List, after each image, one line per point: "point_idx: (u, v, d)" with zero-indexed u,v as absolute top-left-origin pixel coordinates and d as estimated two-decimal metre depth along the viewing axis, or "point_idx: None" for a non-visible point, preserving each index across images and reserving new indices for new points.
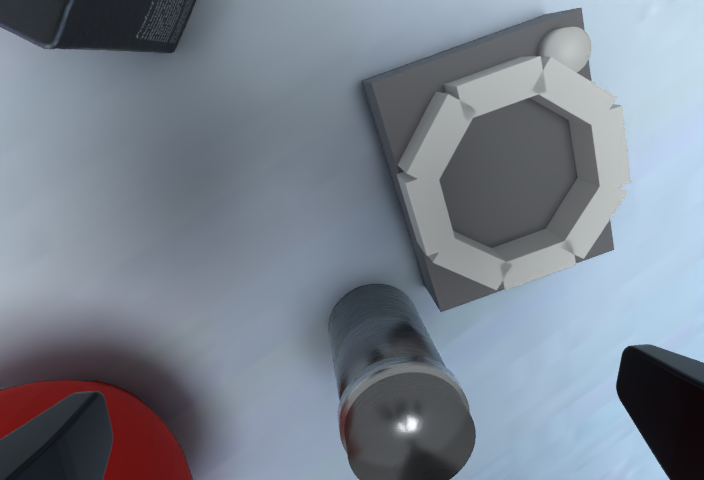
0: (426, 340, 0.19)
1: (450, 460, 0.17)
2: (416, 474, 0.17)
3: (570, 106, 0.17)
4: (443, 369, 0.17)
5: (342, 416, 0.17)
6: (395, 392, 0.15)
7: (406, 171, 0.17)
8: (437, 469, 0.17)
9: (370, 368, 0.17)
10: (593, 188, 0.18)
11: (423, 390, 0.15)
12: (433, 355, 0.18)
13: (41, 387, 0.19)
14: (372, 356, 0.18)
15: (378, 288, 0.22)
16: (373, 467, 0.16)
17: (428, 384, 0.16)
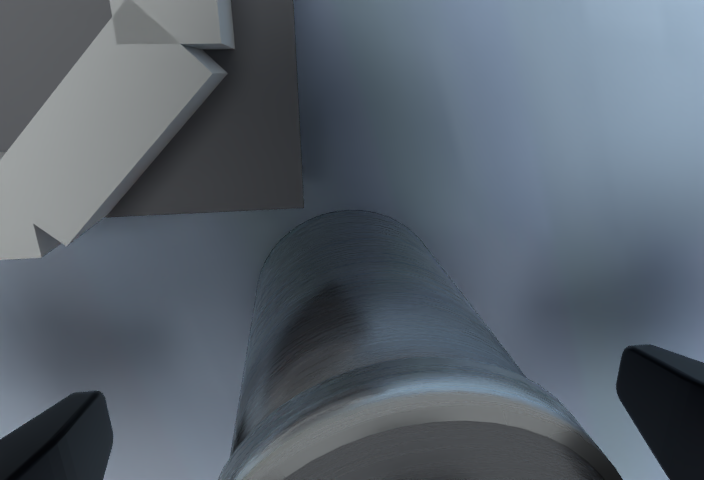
0: (299, 320, 0.07)
1: None
2: None
3: None
4: (284, 427, 0.05)
5: None
6: None
7: None
8: None
9: None
10: None
11: None
12: (298, 365, 0.06)
13: None
14: None
15: (259, 279, 0.11)
16: None
17: None
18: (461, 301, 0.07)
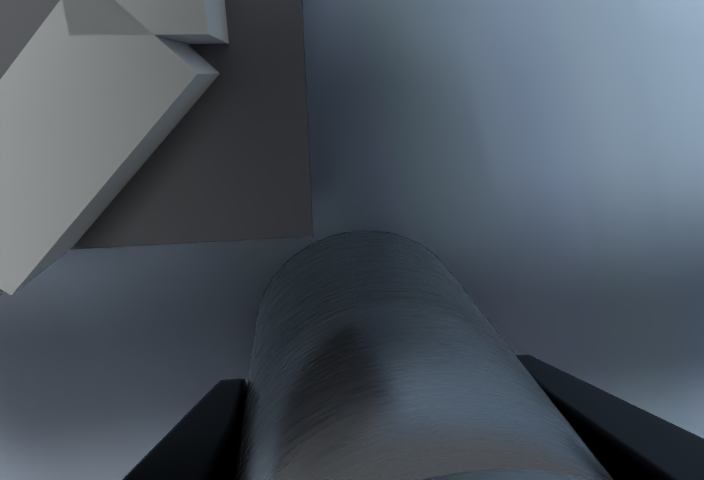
0: (309, 385, 0.05)
1: None
2: None
3: None
4: None
5: None
6: None
7: None
8: None
9: None
10: None
11: None
12: (310, 461, 0.04)
13: None
14: None
15: (259, 311, 0.09)
16: None
17: None
18: (507, 354, 0.06)
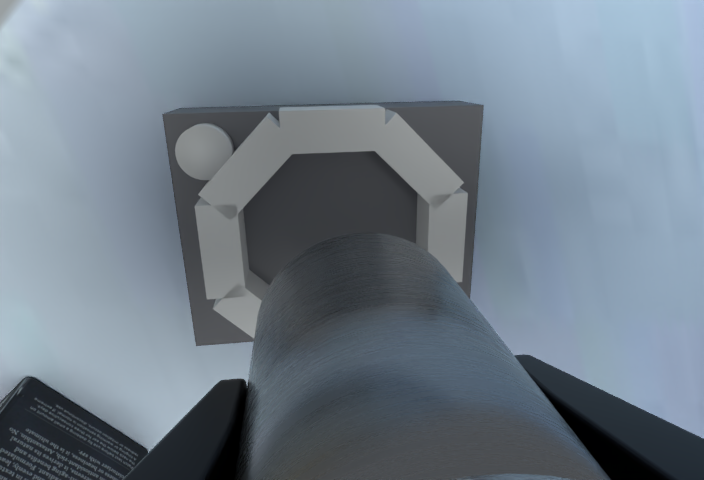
0: (310, 388, 0.05)
1: None
2: None
3: (262, 177, 0.14)
4: None
5: None
6: None
7: None
8: None
9: None
10: (377, 153, 0.14)
11: None
12: (310, 465, 0.04)
13: None
14: None
15: (259, 313, 0.09)
16: None
17: None
18: (508, 357, 0.06)
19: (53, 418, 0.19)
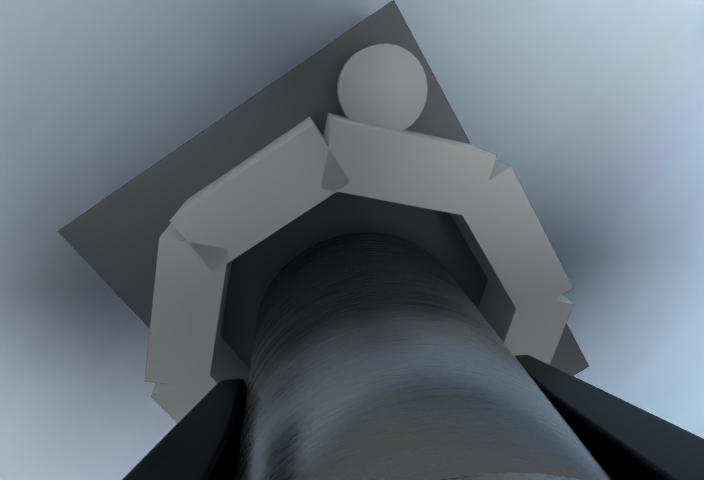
0: (310, 387, 0.05)
1: None
2: None
3: (408, 195, 0.09)
4: None
5: None
6: None
7: (146, 376, 0.09)
8: None
9: None
10: (508, 310, 0.10)
11: None
12: (310, 464, 0.04)
13: None
14: None
15: (259, 312, 0.09)
16: None
17: None
18: (507, 356, 0.06)
19: None
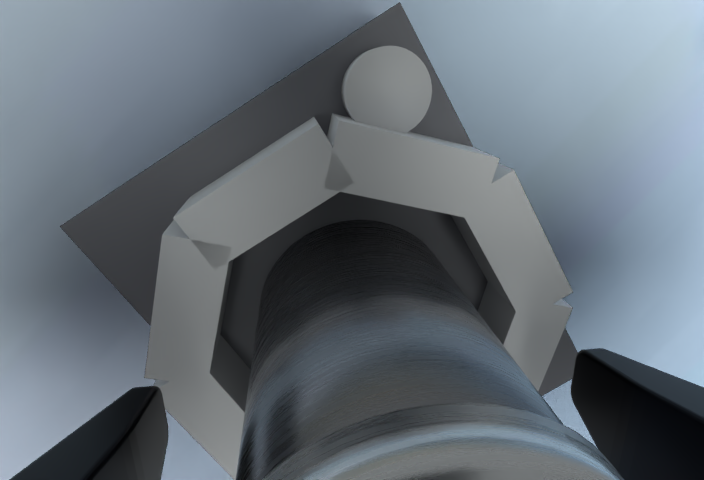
0: (308, 348, 0.06)
1: None
2: None
3: (411, 196, 0.09)
4: None
5: None
6: None
7: (146, 372, 0.09)
8: None
9: None
10: (507, 312, 0.10)
11: None
12: (308, 405, 0.05)
13: None
14: None
15: (263, 292, 0.10)
16: None
17: None
18: (481, 325, 0.07)
19: None
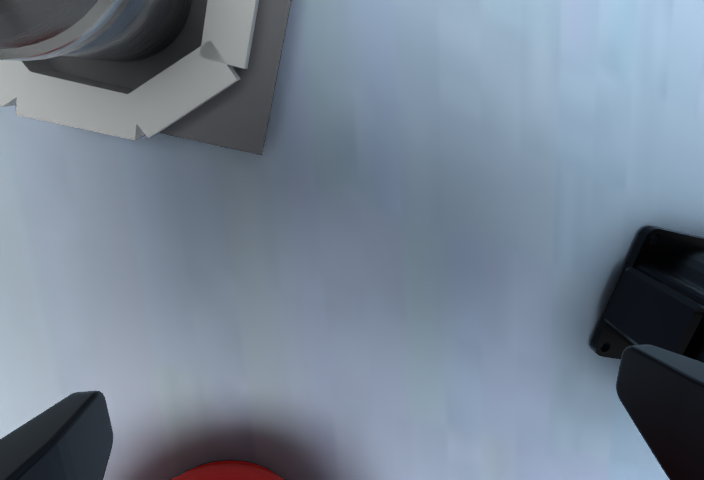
0: None
1: None
2: None
3: None
4: None
5: (34, 53, 0.08)
6: None
7: (2, 104, 0.13)
8: None
9: None
10: None
11: None
12: None
13: None
14: None
15: None
16: None
17: None
18: None
19: None
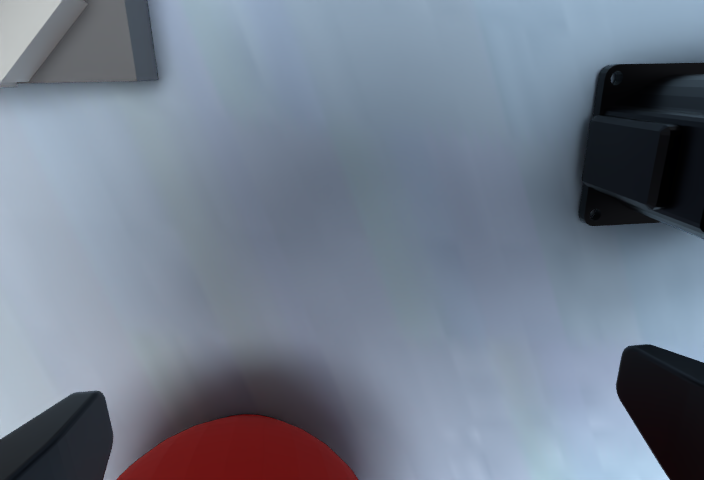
0: None
1: None
2: None
3: None
4: None
5: None
6: None
7: None
8: None
9: None
10: None
11: None
12: None
13: None
14: None
15: None
16: None
17: None
18: None
19: None
